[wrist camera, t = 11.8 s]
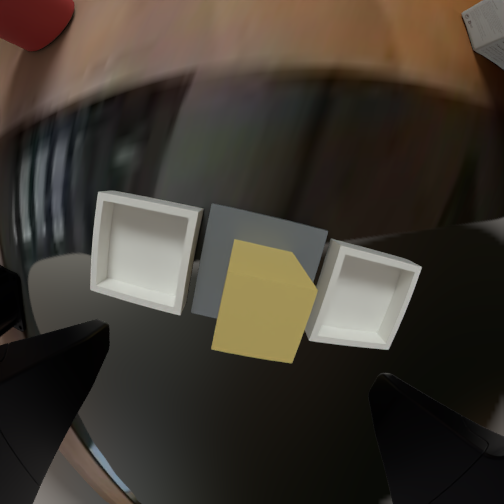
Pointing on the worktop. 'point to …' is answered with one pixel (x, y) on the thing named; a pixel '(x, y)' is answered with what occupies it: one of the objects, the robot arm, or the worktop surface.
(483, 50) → the skincare box
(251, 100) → the worktop surface
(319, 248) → the slate coaster
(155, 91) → the worktop surface
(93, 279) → the shallow white dish
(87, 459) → the worktop surface
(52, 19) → the beer can
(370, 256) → the white square tray
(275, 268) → the tan carton
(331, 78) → the worktop surface
